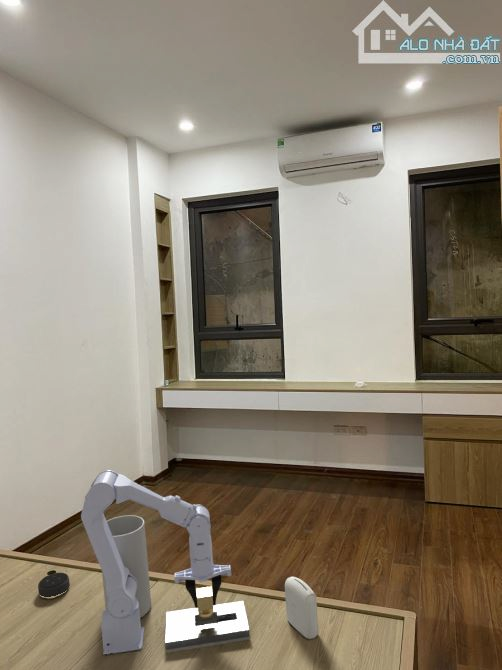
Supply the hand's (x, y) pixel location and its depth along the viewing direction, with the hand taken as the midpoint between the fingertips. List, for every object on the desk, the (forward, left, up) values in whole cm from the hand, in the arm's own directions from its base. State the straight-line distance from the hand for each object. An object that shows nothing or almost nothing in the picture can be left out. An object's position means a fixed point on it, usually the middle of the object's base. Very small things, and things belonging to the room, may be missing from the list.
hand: (205, 604), depth 128 cm
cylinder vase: (-22, +14, -7) cm, 26 cm away
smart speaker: (-46, +29, -8) cm, 54 cm away
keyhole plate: (0, 0, -7) cm, 7 cm away
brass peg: (0, 0, -2) cm, 2 cm away
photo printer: (+24, -4, -7) cm, 26 cm away
